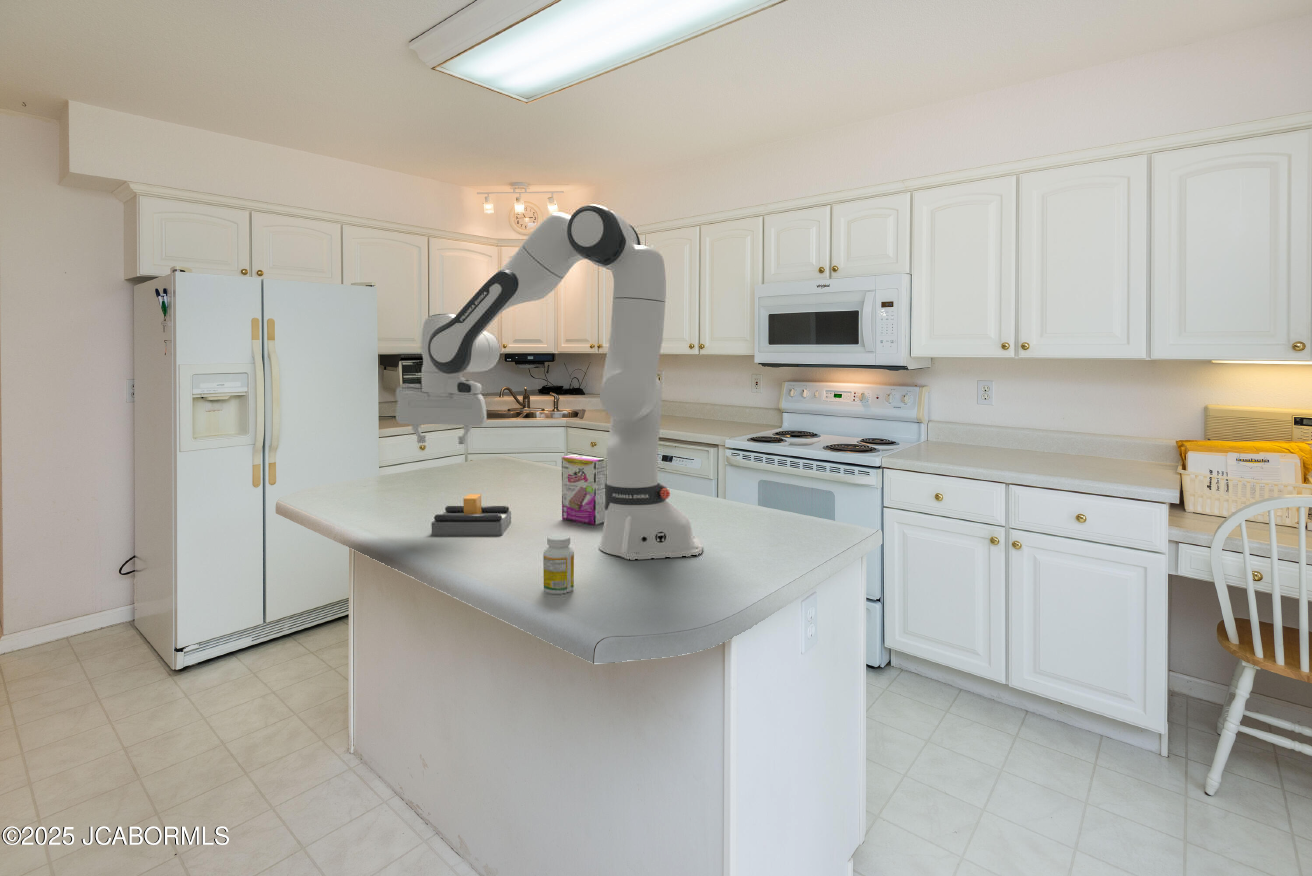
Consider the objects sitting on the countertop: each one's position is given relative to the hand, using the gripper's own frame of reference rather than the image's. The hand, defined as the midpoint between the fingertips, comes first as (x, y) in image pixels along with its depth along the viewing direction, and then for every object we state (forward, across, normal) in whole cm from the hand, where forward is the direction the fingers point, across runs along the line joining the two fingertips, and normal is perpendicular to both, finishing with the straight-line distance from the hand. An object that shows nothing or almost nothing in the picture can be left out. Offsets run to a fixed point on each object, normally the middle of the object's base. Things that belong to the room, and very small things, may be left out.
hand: (441, 443), depth 151 cm
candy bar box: (+20, +33, +8) cm, 40 cm away
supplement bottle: (+20, +31, -42) cm, 56 cm away
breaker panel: (+20, +7, 0) cm, 22 cm away
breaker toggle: (+17, +7, 0) cm, 18 cm away
